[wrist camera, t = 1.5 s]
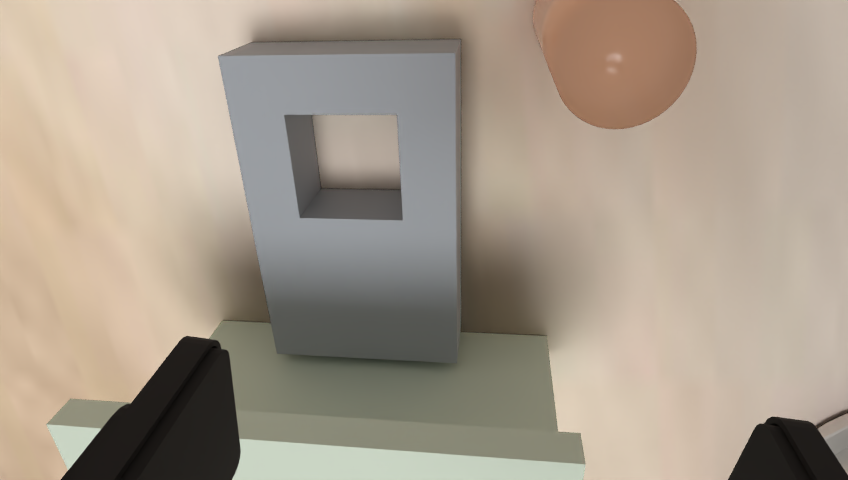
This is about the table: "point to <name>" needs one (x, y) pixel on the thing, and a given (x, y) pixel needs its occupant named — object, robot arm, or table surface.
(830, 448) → the robot arm
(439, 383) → the pale green rectangular block
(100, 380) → the table surface
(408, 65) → the socket
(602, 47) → the peg
